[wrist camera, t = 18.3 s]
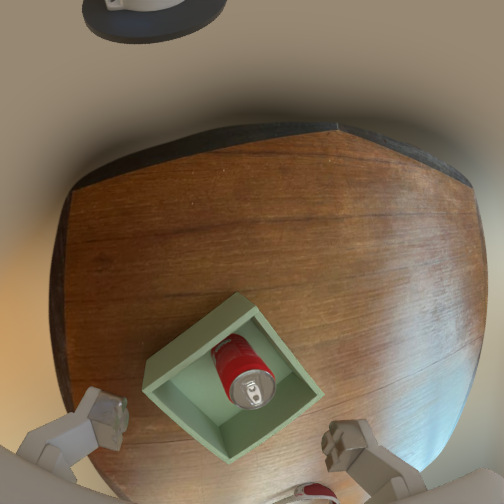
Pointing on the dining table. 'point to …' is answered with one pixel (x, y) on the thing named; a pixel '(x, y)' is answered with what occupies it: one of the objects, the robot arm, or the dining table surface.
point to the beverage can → (243, 373)
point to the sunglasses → (311, 494)
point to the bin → (211, 389)
